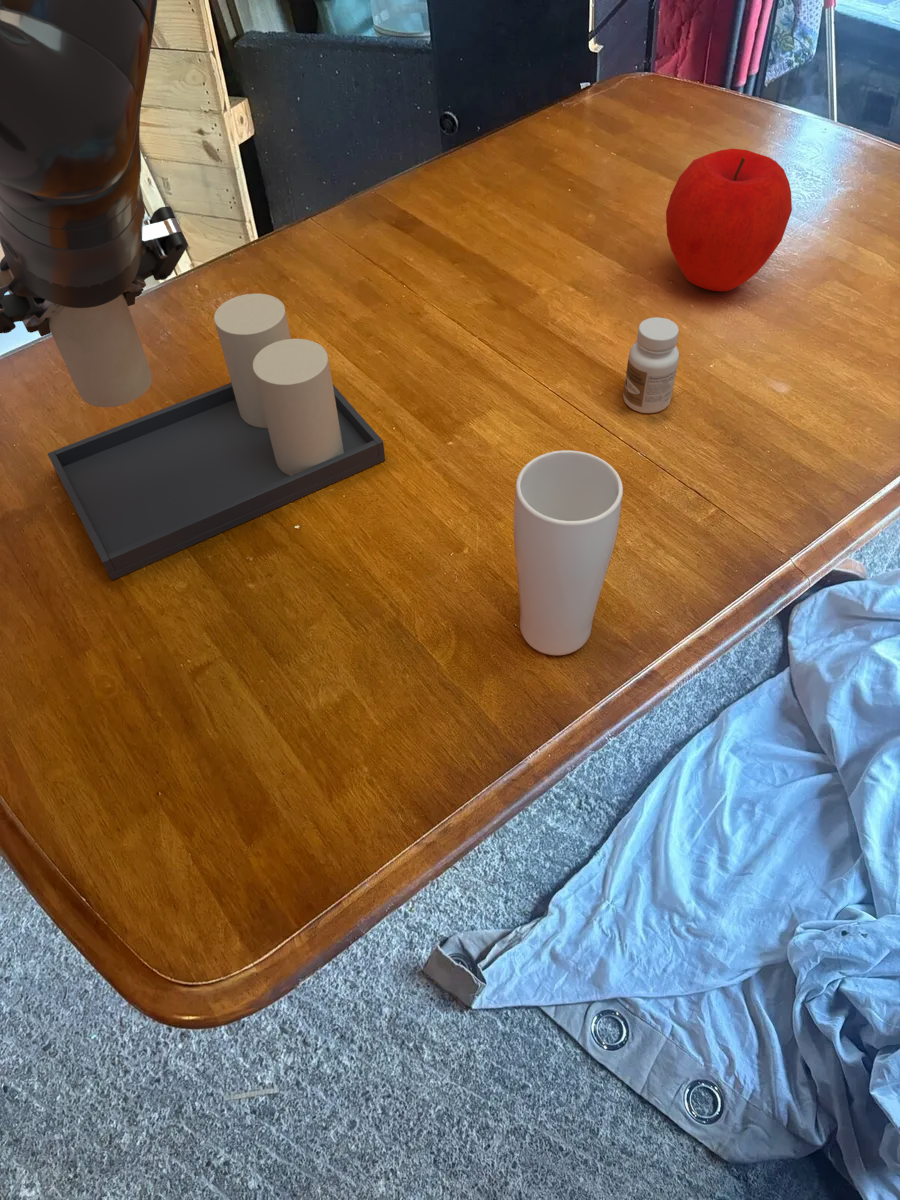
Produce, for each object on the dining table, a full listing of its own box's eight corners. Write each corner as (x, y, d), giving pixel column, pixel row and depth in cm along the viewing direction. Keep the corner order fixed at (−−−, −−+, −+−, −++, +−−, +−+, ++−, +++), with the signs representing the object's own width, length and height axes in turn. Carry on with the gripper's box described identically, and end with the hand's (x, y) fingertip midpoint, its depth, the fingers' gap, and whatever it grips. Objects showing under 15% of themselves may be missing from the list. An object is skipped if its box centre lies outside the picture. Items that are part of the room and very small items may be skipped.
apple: (656, 314, 92) (678, 185, 81) (652, 252, 99) (672, 127, 88) (774, 318, 90) (812, 188, 80) (762, 256, 98) (795, 129, 87)
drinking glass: (514, 591, 69) (519, 444, 57) (602, 598, 68) (625, 451, 57) (505, 662, 65) (509, 520, 53) (598, 671, 64) (623, 529, 53)
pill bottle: (616, 388, 84) (626, 317, 78) (660, 381, 85) (674, 310, 79) (631, 418, 82) (642, 346, 75) (677, 411, 82) (692, 339, 76)
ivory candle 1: (255, 437, 80) (230, 342, 73) (229, 401, 84) (202, 308, 76) (315, 412, 82) (297, 318, 74) (287, 379, 86) (267, 285, 78)
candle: (63, 400, 66) (6, 277, 58) (106, 357, 69) (57, 235, 61) (127, 414, 65) (77, 291, 57) (167, 370, 68) (125, 247, 60)
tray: (111, 581, 71) (102, 562, 69) (56, 472, 79) (47, 453, 78) (385, 460, 79) (383, 441, 77) (309, 373, 87) (306, 353, 85)
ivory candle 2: (293, 488, 76) (271, 394, 68) (264, 449, 79) (240, 354, 72) (355, 461, 78) (341, 366, 70) (324, 424, 81) (307, 329, 73)
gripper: (164, 109, 49) (153, 225, 65) (-106, 184, 45) (-48, 289, 61) (224, 241, 50) (199, 323, 66) (-33, 326, 46) (6, 392, 62)
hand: (81, 306), depth 63 cm, fingers closed on candle, 5 cm apart
